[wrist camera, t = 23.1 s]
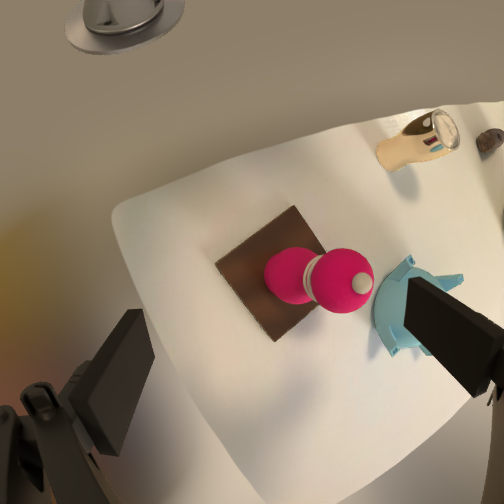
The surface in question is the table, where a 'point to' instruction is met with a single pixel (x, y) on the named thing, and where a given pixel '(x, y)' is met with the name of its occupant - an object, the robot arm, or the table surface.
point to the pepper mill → (321, 278)
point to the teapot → (403, 304)
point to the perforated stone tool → (490, 140)
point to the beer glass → (419, 141)
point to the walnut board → (253, 265)
